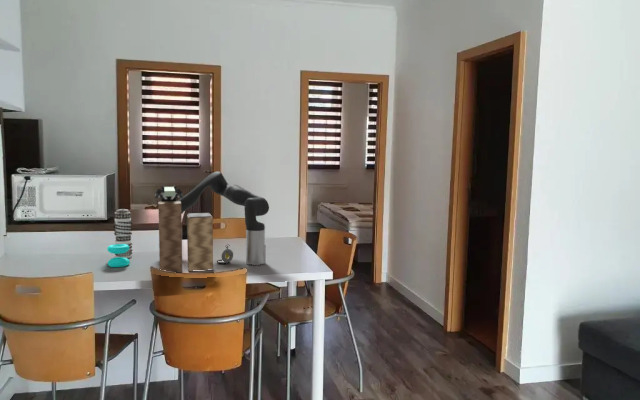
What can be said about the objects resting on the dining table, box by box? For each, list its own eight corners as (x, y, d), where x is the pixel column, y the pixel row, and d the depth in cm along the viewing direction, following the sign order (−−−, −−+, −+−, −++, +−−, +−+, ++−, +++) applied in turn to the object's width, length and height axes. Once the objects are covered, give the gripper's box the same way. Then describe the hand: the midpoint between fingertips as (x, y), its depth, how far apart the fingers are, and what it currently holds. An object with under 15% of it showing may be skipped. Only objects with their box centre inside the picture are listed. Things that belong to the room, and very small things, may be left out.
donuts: (105, 244, 244) (127, 242, 249) (106, 264, 245) (128, 262, 250) (108, 248, 235) (130, 246, 240) (109, 268, 236) (131, 266, 241)
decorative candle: (137, 255, 264) (136, 209, 262) (123, 259, 256) (122, 211, 254) (124, 254, 268) (123, 208, 266) (110, 257, 260) (109, 209, 257)
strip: (173, 191, 246) (173, 186, 246) (175, 196, 224) (175, 190, 223) (164, 191, 245) (164, 186, 245) (164, 196, 222) (164, 191, 222)
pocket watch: (219, 261, 255) (219, 241, 254) (235, 262, 254) (235, 242, 253) (213, 264, 247) (213, 244, 246) (229, 265, 246) (229, 245, 245)
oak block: (210, 264, 247) (210, 212, 244) (213, 270, 235) (212, 216, 233) (187, 266, 243) (187, 213, 241) (189, 272, 232) (188, 216, 229)
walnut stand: (181, 266, 242) (180, 201, 239) (182, 271, 233) (181, 203, 230) (159, 267, 239) (158, 201, 236) (159, 272, 230) (158, 203, 227)
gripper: (183, 207, 256) (184, 194, 242) (154, 208, 252) (153, 194, 237) (183, 194, 259) (184, 180, 244) (154, 195, 255) (153, 180, 240)
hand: (169, 187), depth 241 cm, fingers closed on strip, 4 cm apart
